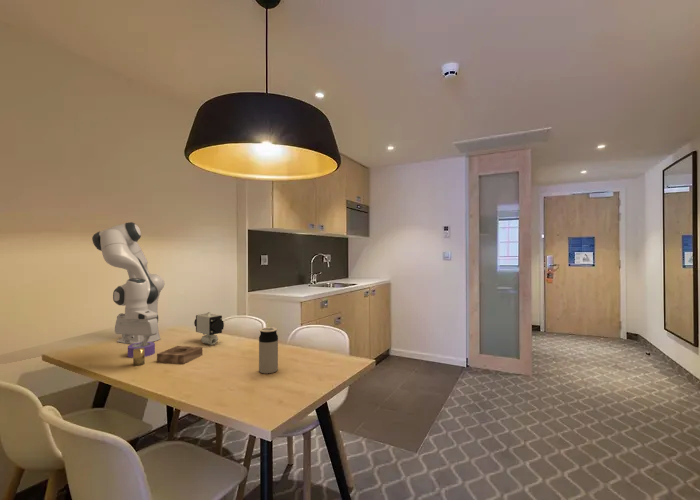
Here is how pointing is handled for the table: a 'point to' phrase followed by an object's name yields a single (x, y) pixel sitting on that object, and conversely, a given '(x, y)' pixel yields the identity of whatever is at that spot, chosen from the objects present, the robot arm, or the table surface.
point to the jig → (179, 354)
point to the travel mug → (268, 350)
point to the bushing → (138, 356)
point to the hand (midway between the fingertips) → (135, 344)
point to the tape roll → (148, 348)
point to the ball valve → (209, 327)
